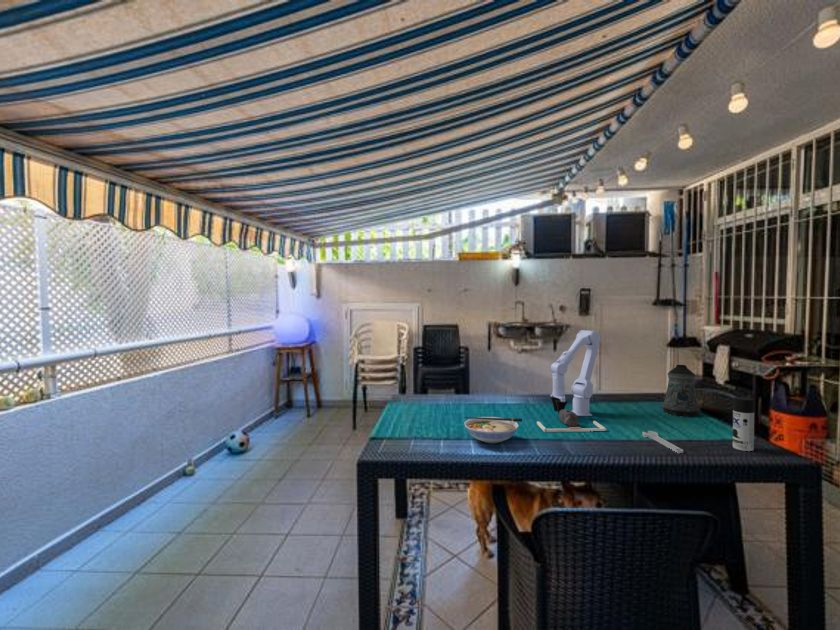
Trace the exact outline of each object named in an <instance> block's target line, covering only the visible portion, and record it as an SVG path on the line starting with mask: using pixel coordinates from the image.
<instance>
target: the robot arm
mask: <svg viewBox="0 0 840 630" xmlns="http://www.w3.org/2000/svg"><path fill="white" fill-rule="evenodd" d="M600 342H601V335H600V333H599V332H598V331H597V330H588V329H587V330H586V329H581V330H579V331H578V332H577V334H576V338H575V340H574V341H573V342H572V344H571V346H570V347H569V349H568V350H565V351H563V352H562V354H561V355H560V356H559V358H558V359H556V361H555V362H553V363H551V365H550V368H549V370H550V372H551V376H552V393H551V394H550V395H549V396H550V400H551V403H552V407H553V411H554V412H557V413H558V415H559V412H560V410H562V409H566V406H567V404H568V401H567V400H566V395H565V393H566V392H565V391H566V389H565V383H566V382H565V379H566V378H565V376H566V375H565V374H566V373H567V371H568V367H569V365H570V364H571V363H572V361H574V359H575V354H576V353H577V352H578V351H579V350H580V349H581V348H582V347H583V346H584V347H585V348H586V351H585V354H584V358H583V362H582V366H581V369H580V373H579V377H578V378H576V379H575V380H574V382H573V384H572V385H571V388H570V391H571V393H572V395H573V398H572V410H571V411H572V412H574V413H575V414H576V415H577V416H578V417H593V414H592V413H590V399H591V397H592V396H593V393H594V392H593V391H594V390H593V389H594V384H593V382H592V381H591V378H592V375H593V370H594V367H595V363H596V361H597V357H598V354H599V353H598V352H599V349H600V347H599V346H600Z"/></svg>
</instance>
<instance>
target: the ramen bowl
mask: <svg viewBox="0 0 840 630" xmlns="http://www.w3.org/2000/svg"><path fill="white" fill-rule="evenodd" d="M464 419H467V420H466V421H464V427H465V429H466V431H467V432H468V433H469V434H470V436H472V437H473V438H475V439H476V440H479V441H480V442H481V441H482V442H483V443H485V444H493V445H494V444H499V443H501V442H504V441H505V442H506V441H508V440H509V439H511V438H512V436H513V435H514V434H515V433H516V431H517V430H518V428H519V424H518V422H521V423H522V422H523V419H522V418H508V417H507V418H504V417H498V416H480V417H479V416H478V417H473V416H472V417H471V416H469V417H467V416H465V417H464Z"/></svg>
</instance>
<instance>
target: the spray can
mask: <svg viewBox="0 0 840 630" xmlns="http://www.w3.org/2000/svg"><path fill="white" fill-rule="evenodd" d="M732 399H733V402H732V448H733V449H735V450H738V451H739V452H740V451H742V452H745V451H748V452H747V453H749V452H750V451H752V452H754V449H755V399H754V398H750V397H746V396H745V397H744V396H734V397H733V398H732Z"/></svg>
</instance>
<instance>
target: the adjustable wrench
mask: <svg viewBox="0 0 840 630" xmlns="http://www.w3.org/2000/svg"><path fill="white" fill-rule="evenodd" d="M641 433H642V436H643V437H644V438H646V437H647V438H648V439H652V440H654V441H656V442H657V443H659V444H661V445H663V446H665V447H666V448H667V449H669V448H670V450H671V449H672V450H671V451H673V452H674V451H675V452H674V453H676V452H677V453H676V454H680V453H682V454H684V449H682V448H680V447H678V446H676V445H675V444H673V443H671V442H669V441H668V440H666V439H664V438H662V437H660V436H659V434H658V432H656V431H654V430H647V432H645V431H642V432H641Z"/></svg>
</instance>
